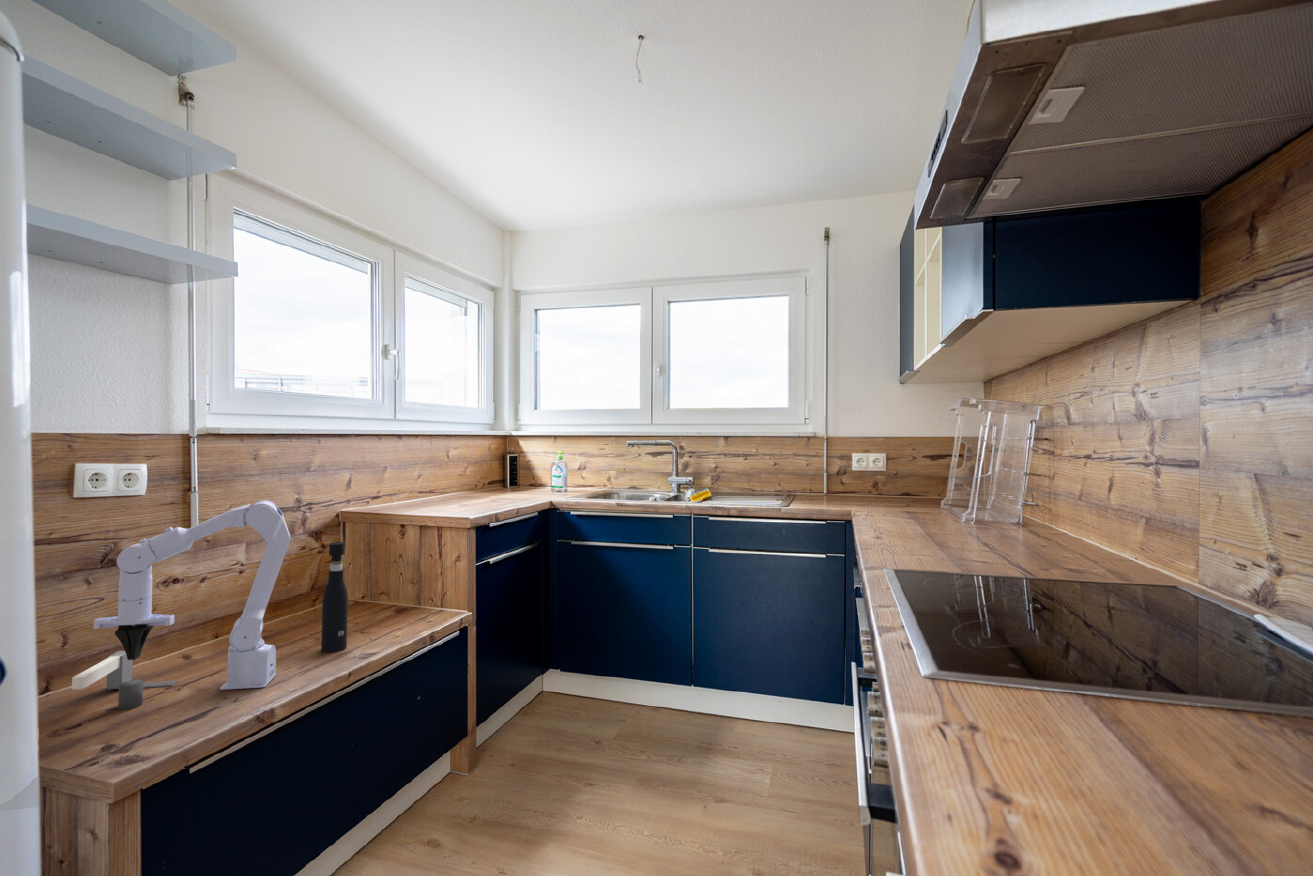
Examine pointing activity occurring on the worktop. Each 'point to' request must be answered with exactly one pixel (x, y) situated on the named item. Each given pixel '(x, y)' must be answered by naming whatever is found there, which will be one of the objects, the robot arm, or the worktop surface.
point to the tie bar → (106, 672)
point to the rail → (158, 684)
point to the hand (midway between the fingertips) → (133, 658)
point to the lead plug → (130, 694)
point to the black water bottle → (335, 604)
